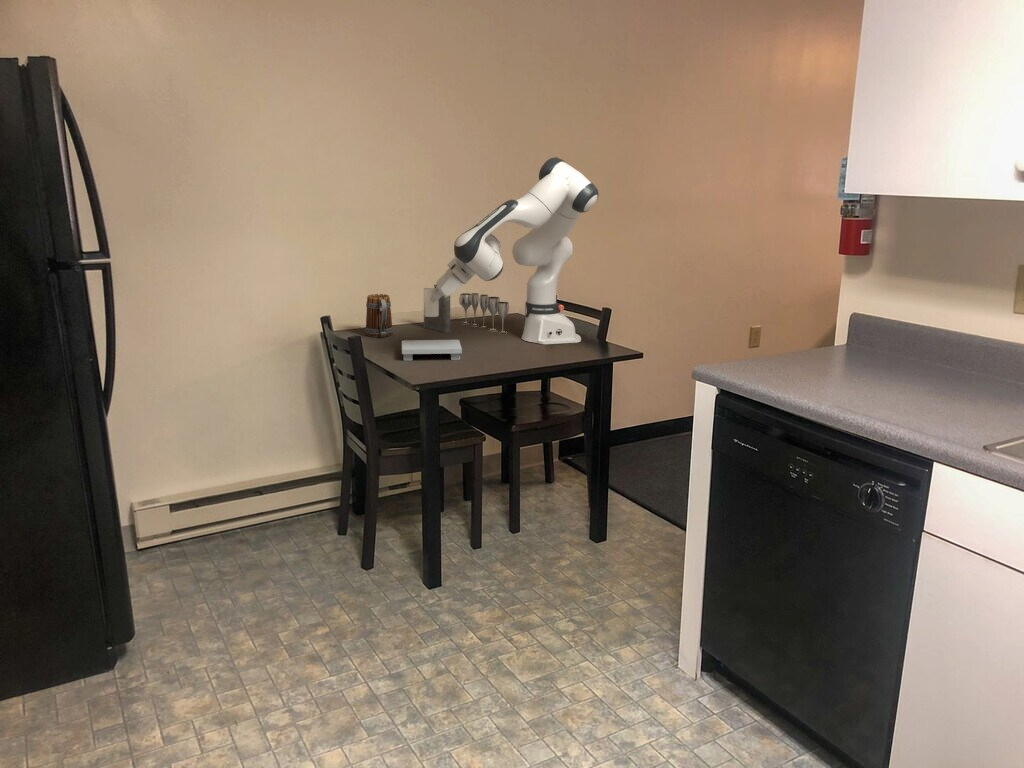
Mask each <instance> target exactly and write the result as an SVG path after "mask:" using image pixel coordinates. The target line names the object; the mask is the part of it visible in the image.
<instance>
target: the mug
mask: <svg viewBox="0 0 1024 768" xmlns="http://www.w3.org/2000/svg"><path fill="white" fill-rule="evenodd" d="M365 303H366V318H365V319H366V320H365V329H364V332H365V335H366V336H368V337H369V338H370V337H371V338H387V337H391V336H392V335H393V334H394V327H393V319H392V309H391V307H392V304H391V300H390V295H389V294H384V293H379V294H378V293H374V294H368V295H367V298H366V302H365Z"/></svg>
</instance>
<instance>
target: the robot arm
mask: <svg viewBox="0 0 1024 768" xmlns="http://www.w3.org/2000/svg"><path fill="white" fill-rule="evenodd" d="M538 180H539V181H538V182H536V183H535V184H534V185H533V186H532V187H531V188H530V189H529V190H528V191H527V192H526V193H525V194H523V196H521V198H518V199H516V200H515V199H508V200H506V201H504V202H503V203H502V204H500V205H499V206H498V207H496V208H495V209H494V210H492V211H491V212H490V213H489V214H487V215H486V216H485V217H483V219H481V220H480V221H479V222H478V223H476V224H475V225H474V226H473V227H472V228H471V227H470V228H469V229H467V230H466V231H464V232H463V233H461V234H460V235H459V236H458V237H457V238H456V239H455V241H454V245H453V253H454V257H453V258H452V259H451V261H449V262H448V263H447V264H446V266H447V267H448V269H447V270H445V272H444V273H443V274H442V275H441V276H440V277H439V278H438V279H437V281H436V284H437V287H436V288H437V289H438V291H437V293H436V294H435V295H434V296H432V297H431V298H430V301H431V302H432V303H435V302H436V301H437V300H438V299H439V298H441V297H442V296H444V297H445V298H447V297H448V296H450V297H451V295H453V293H455V292H456V291H457V290H458V289H459V288H461V287H462V285H463V284H464V285H467V283H469V281H470V280H471V279H472V278H473V277H474V276H478V277H479V278H480V280H483V281H484V282H490V281H493V280H496V279H497V278H498V277H499V276H500V275H501V274H502V272H503V270H504V266H505V265H504V260H503V259H502V256H501V253H500V248H501V245H502V244H501V242H500V241H499V239H498V238H497V237H495V235H493V233H494V232H495V231H496V230H497V229H498V228H500V227H501V226H502V225H504V224H505V223H514V224H517V225H520V226H522V227H524V228H528V229H531V230H530V231H528V232H527V233H525V235H524V236H522V237H520V238H518V239H516V240H515V242H514V243H513V245H512V250H511V251H512V252H511V255H512V257H513V260H514V261H515V262H516V263H517V265H520V266H526V267H536V269H535V271H534V273H533V275H531V276H530V277H529V278H528V280H527V283H526V301H525V304H524V316H525V321H524V326H523V332H522V335H521V340H523V341H525V342H530V343H536V344H540V345H557V344H558V345H561V344H577V343H580V342H581V341H582V337H581V336H580V334H577V333H576V327H575V325H574V323H573V321H572V320H571V319H569V318H568V317H567V316H566V315H564V313H562V311H564V309H565V307H564V304H563V305H562V304H560V303H558V302H557V292H558V291H557V288H558V282H559V278H560V275H561V272H562V270H563V267H564V266H565V265H566V263H567V262H568V261H569V260H570V259H571V257H572V256H573V249H574V246H573V243H572V241H571V240H570V238H569V237H568V235H570V233H571V231H572V230H573V229H574V227H575V224H576V223H577V221H578V219H579V217H580V215H581V214H582V213H587V212H588V211H590V209H592V208H593V207H594V206H595V204H596V203H597V201H598V199H599V196H600V195H599V189H598V188H597V186H596V185H595V184H594V183H593V182H591V181H590V180H589V179H588V178H587V177H586V176H585V175H583V173H582V172H580V171H578V170H577V169H576V168H574V167H573V166H572V165H570V164H569V163H566V161H565V160H563V159H561V158H559V157H556V156H555V157H551V158H549V159H547V160H546V161H545V162H544V164H543V165H542V166H541V167H540V170H539V172H538Z"/></svg>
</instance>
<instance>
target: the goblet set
mask: <svg viewBox="0 0 1024 768" xmlns="http://www.w3.org/2000/svg"><path fill="white" fill-rule="evenodd" d="M458 302H459V305H460V306H461V307H462V308H463V310H464V313H465V314H464V315H465V321H463V322H464V323H467V322H468V321H467V312H468V309H469V308H470V307H471V306H472V309H473V317H474V318H473V319H474V321H473V322H474V323H472V324H473V325H477V324H478V323H477V324H476V311H477V308H478V307H479V306H480V309H481V312H482V316H483V317H482V319H483V322H482V323H483V324H482V325H483V326H482V327H486V326H485V315H486V312H487V310H488V311H489V313H490V314H491V318H492V328H489V329H490V330H496V329H497V328H494V323H495V322H494V321H495V316H496V314H498V315H499V317H500V319H501V329H502V330H500V331H501V332H505V330H504V322H505V319H506V317H507V315H508V313H509V311H510V303H509V302H508V301H501V299H500V297H498V296H489V294H480V295H479V293H477V292H474V293H473V292H472V293H470V292H469V293H468V292H467V293H465V292H463V293H460V294H459V297H458Z"/></svg>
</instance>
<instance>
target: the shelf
mask: <svg viewBox="0 0 1024 768" xmlns="http://www.w3.org/2000/svg"><path fill="white" fill-rule="evenodd" d="M462 353H463V348H462V345H461V342H460V339H406V340H405V339H403V340H402V339H401V354H402V355H403V361H407V362H408V361H413V360H414V359H413V355H432V354H433V355H435V354H437V355H439V354H440V355H442V354H443V355H445V354H446V355H447V354H449V357H450V356H451V357H450V359H451V361H460V360H461V354H462Z"/></svg>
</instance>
